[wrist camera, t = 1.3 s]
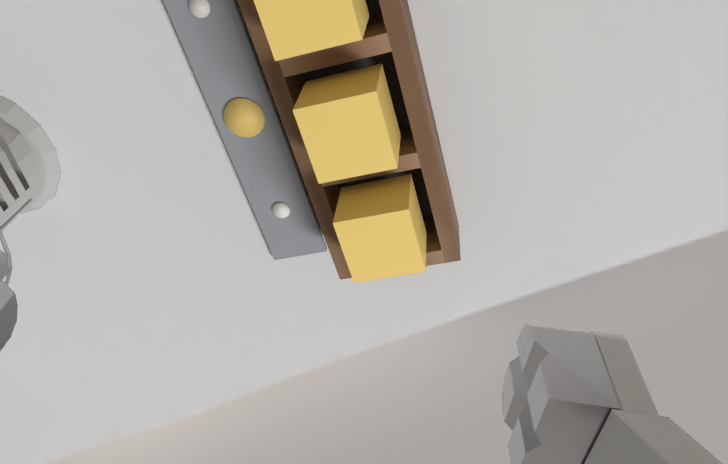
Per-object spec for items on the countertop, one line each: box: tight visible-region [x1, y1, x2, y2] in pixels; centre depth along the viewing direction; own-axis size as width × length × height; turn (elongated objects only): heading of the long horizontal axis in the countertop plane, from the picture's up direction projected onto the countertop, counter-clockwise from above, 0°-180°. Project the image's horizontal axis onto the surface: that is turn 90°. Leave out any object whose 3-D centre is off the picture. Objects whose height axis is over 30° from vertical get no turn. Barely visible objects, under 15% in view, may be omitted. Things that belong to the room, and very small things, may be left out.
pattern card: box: [163, 0, 327, 260], centre depth 38 cm, size 4×29×1 cm, turn 15°
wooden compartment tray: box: [237, 0, 460, 279], centre depth 35 cm, size 8×29×4 cm, turn 15°
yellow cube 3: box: [293, 63, 401, 184], centre depth 34 cm, size 4×4×4 cm
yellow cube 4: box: [333, 174, 427, 283], centre depth 38 cm, size 4×4×4 cm
